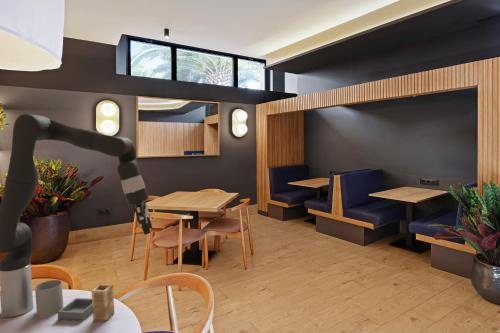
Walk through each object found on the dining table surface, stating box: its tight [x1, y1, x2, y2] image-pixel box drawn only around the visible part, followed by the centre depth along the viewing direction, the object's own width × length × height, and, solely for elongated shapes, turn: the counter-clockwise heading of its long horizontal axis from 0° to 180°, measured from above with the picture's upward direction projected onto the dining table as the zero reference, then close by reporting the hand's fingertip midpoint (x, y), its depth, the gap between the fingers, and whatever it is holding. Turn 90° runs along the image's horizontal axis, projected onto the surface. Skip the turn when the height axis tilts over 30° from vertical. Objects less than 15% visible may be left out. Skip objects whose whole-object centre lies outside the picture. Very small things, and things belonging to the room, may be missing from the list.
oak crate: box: [91, 283, 115, 322], centre depth 107 cm, size 5×5×11 cm
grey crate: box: [57, 297, 93, 322], centre depth 110 cm, size 10×10×3 cm
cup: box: [34, 279, 64, 318], centre depth 112 cm, size 8×8×10 cm
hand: (148, 231), depth 110 cm, fingers open, 8 cm apart
